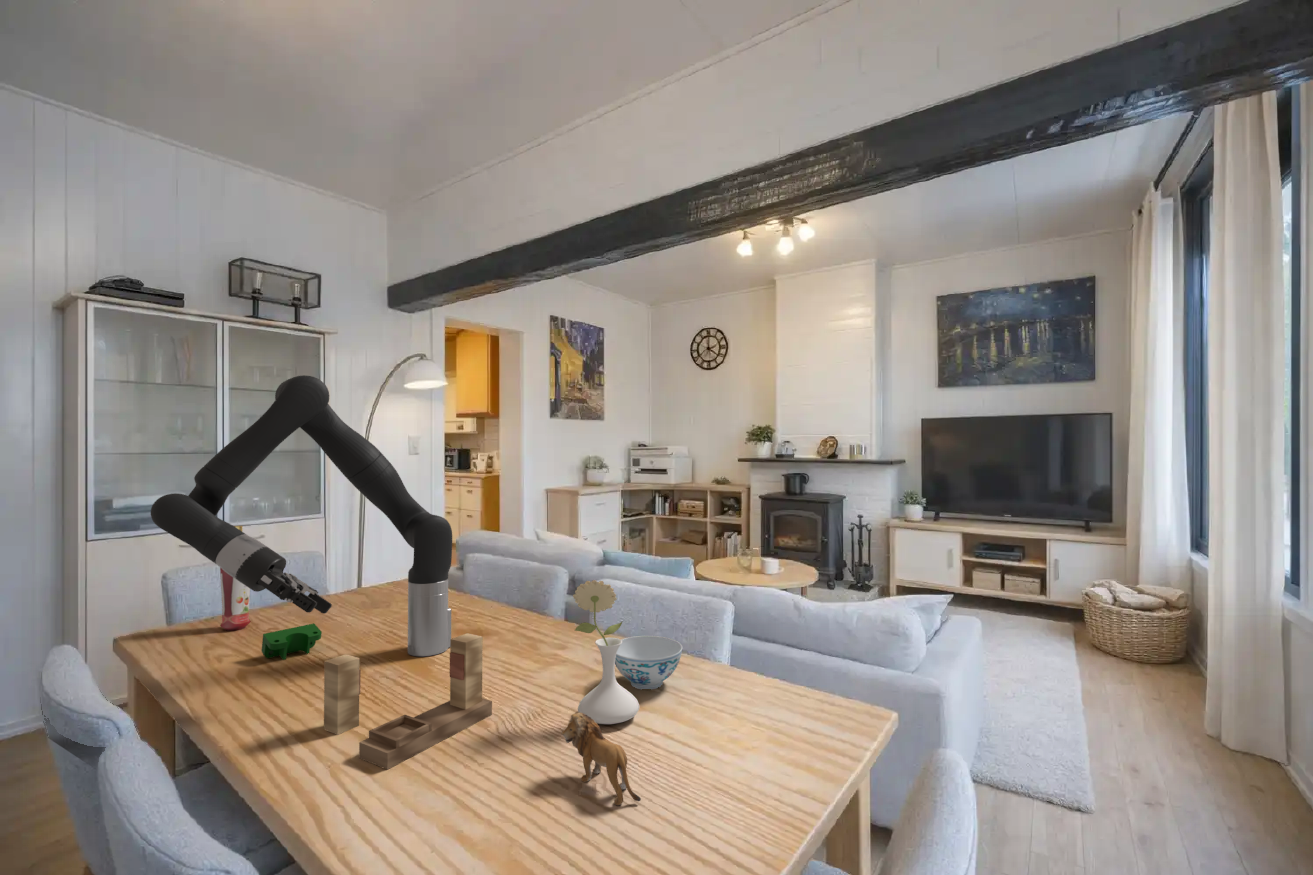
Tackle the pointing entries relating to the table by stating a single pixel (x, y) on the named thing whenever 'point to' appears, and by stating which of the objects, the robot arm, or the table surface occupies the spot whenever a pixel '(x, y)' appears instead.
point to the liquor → (234, 601)
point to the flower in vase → (604, 660)
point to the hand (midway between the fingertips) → (321, 608)
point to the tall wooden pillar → (341, 693)
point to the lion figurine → (598, 753)
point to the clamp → (290, 640)
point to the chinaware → (647, 660)
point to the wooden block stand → (434, 711)
